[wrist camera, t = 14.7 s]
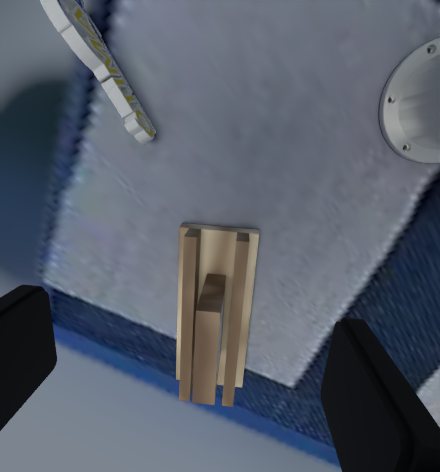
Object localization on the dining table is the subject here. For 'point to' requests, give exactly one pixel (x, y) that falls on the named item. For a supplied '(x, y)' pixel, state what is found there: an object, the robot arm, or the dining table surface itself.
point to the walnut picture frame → (208, 338)
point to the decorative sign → (99, 62)
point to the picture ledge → (235, 302)
